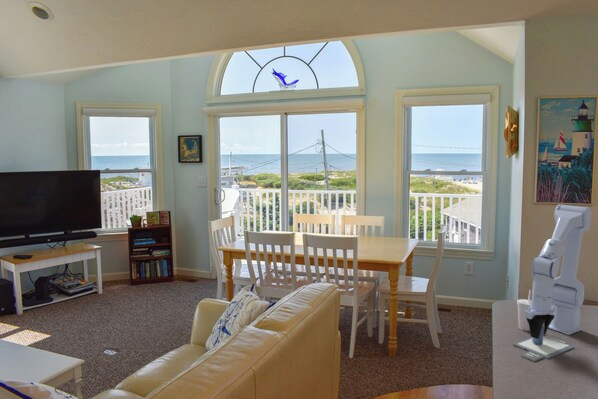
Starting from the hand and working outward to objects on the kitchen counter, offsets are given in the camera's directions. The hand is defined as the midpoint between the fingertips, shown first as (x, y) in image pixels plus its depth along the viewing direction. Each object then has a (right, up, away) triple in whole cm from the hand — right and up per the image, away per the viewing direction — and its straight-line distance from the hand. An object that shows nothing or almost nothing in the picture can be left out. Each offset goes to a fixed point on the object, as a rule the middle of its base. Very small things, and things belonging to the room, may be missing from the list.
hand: (537, 336), depth 145 cm
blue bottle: (0, -2, 0) cm, 2 cm away
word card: (-6, -4, -8) cm, 11 cm away
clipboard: (+2, -3, 0) cm, 3 cm away
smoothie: (+3, -2, +14) cm, 15 cm away
